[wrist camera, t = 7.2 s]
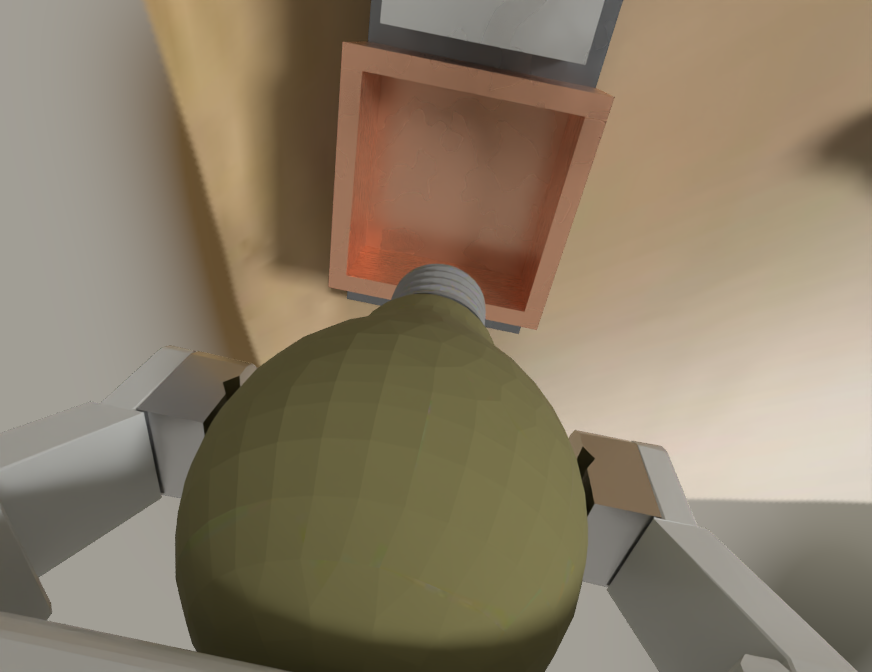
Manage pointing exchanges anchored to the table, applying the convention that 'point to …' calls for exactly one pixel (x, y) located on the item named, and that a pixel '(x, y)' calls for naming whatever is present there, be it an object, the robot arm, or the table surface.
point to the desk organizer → (467, 145)
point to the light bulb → (386, 501)
